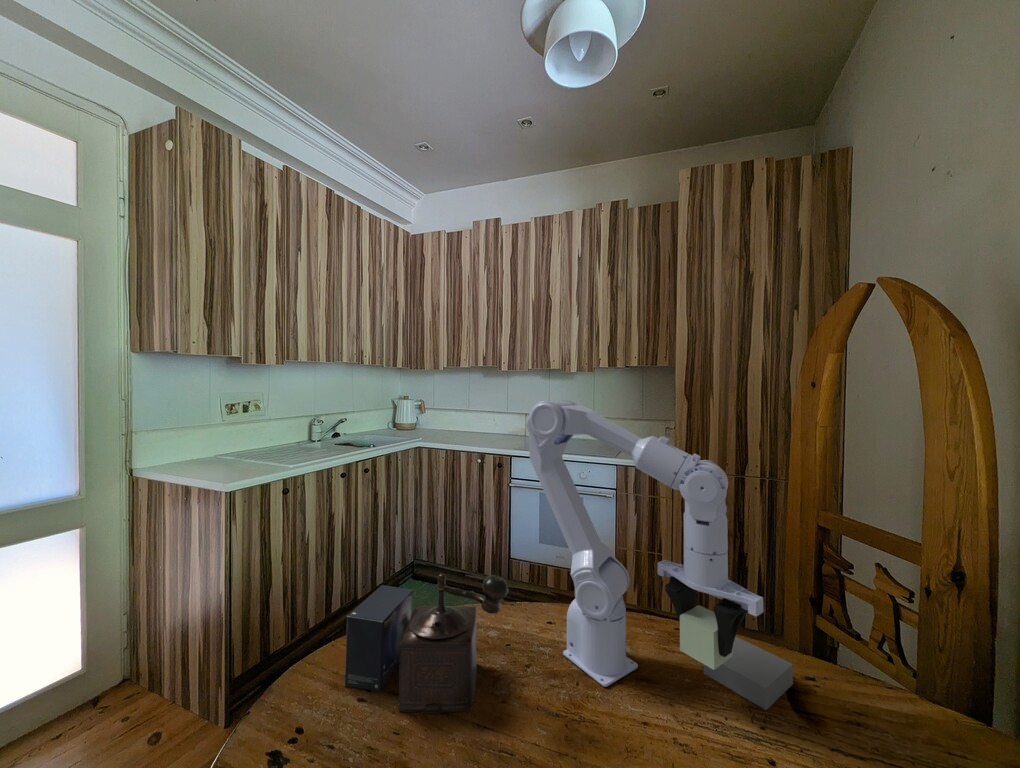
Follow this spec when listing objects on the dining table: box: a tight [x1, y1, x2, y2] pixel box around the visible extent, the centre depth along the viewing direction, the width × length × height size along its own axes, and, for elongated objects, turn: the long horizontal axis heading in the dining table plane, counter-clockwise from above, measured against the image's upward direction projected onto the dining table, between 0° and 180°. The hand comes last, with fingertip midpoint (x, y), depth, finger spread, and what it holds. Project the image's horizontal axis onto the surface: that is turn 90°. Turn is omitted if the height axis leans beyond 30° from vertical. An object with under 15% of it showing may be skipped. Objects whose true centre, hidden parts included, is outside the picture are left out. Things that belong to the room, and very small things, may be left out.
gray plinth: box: [703, 635, 794, 711], centre depth 62 cm, size 9×9×3 cm
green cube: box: [679, 604, 733, 670], centre depth 57 cm, size 5×5×5 cm
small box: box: [344, 584, 413, 692], centre depth 65 cm, size 11×6×10 cm, turn 168°
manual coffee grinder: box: [398, 573, 509, 714], centre depth 60 cm, size 16×11×18 cm
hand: (705, 643), depth 57 cm, fingers closed on green cube, 5 cm apart
